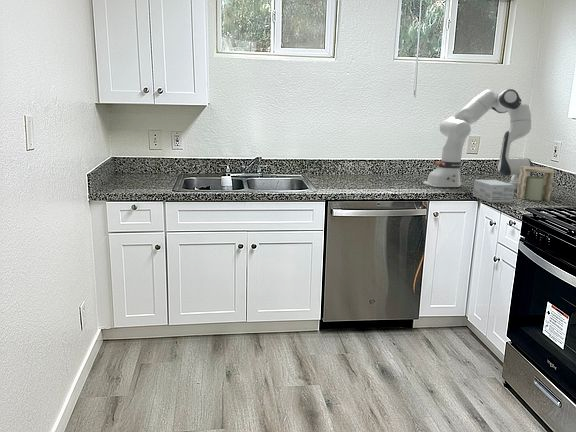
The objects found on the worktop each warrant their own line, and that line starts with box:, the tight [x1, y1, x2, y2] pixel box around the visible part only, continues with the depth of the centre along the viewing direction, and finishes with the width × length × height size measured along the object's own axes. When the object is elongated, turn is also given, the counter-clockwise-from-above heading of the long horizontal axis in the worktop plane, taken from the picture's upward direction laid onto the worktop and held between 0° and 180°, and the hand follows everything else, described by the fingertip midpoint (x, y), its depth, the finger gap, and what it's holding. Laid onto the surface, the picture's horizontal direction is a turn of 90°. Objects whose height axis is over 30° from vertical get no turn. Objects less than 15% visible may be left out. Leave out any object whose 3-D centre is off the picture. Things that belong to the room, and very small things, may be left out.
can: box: [524, 175, 545, 201], centre depth 271 cm, size 9×9×12 cm
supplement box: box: [472, 179, 515, 204], centre depth 267 cm, size 17×13×9 cm
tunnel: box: [514, 166, 555, 202], centre depth 278 cm, size 24×14×16 cm, turn 171°
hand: (532, 188), depth 275 cm, fingers closed, pressing on can
